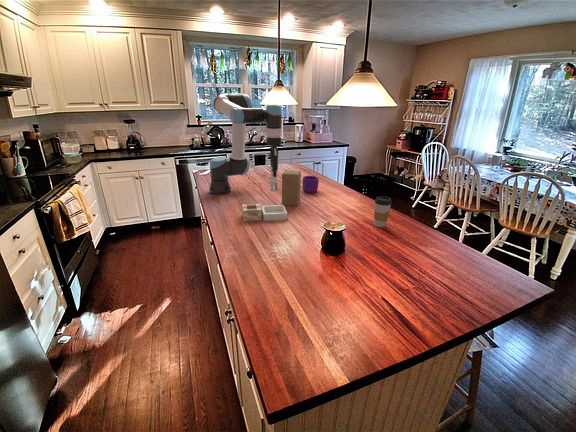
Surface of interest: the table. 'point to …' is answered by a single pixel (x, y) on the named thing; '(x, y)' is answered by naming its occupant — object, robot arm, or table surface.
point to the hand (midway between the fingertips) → (274, 181)
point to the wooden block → (291, 187)
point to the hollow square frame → (251, 212)
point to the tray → (274, 213)
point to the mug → (310, 184)
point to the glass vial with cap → (273, 185)
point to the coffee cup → (381, 211)
